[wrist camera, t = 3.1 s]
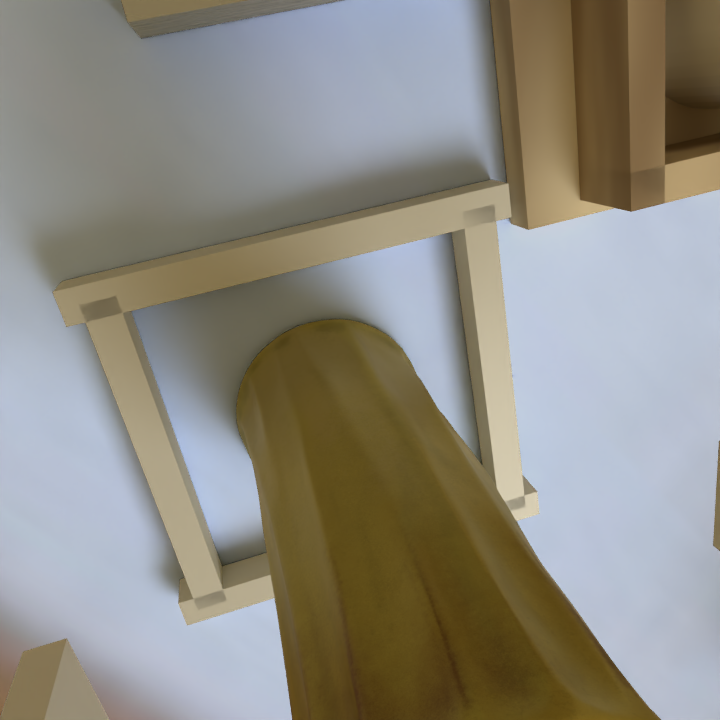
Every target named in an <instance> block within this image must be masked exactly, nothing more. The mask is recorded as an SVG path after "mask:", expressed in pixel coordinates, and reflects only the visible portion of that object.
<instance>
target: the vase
mask: <svg viewBox="0 0 720 720" xmlns="http://www.w3.org/2000/svg"><path fill="white" fill-rule="evenodd" d="M236 417H237V425H238V430H239V433H240V436H241V439H242V441H243V443H244V445H245V447H246V449H247V452H248V454H249V456H250V458H251V460H252V464H253V468H254V473H255V478H256V484H257V489H258V495H259V502H260V509H261V517H262V525H263V532H264V539H265V545H266V551H267V557H268V563H269V569H270V575H271V581H272V587H273V592H274V597H275V603H276V609H277V616H278V622H279V629H280V635H281V642H282V649H283V656H284V663H285V669H286V677H287V684H288V691H289V699H290V706H291V713H292V720H661V719H660V718H659V717H658V716H657V715H656V714H655V713H654V712H653V711H652V710H651V709H650V708H649V707H648V705H647V704H646V703H645V702H644V701H643V699H642V698H641V697H640V696H639V694H638V693H637V692H636V691H635V690H634V688H633V687H632V686H631V685H630V683H629V682H628V681H627V679H626V678H625V677H624V676H623V674H622V673H621V672H620V671H619V669H618V668H617V667H616V665H615V664H614V663H613V661H612V660H611V659H610V657H609V656H608V654H607V653H606V652H605V650H604V649H603V647H602V646H601V645H600V643H599V642H598V640H597V639H596V638H595V636H594V635H593V633H592V632H591V630H590V629H589V627H588V626H587V625H586V623H585V622H584V620H583V619H582V617H581V616H580V615H579V613H578V612H577V610H576V609H575V608H574V606H573V605H572V604H571V602H570V601H569V600H568V598H567V597H566V596H565V594H564V593H563V592H562V590H561V589H560V588H559V586H558V585H557V584H556V582H555V581H554V580H553V578H552V577H551V576H550V574H549V573H548V572H547V570H546V569H545V568H544V566H543V565H542V564H541V562H540V560H539V559H538V557H537V556H536V554H535V552H534V551H533V549H532V547H531V546H530V544H529V542H528V540H527V539H526V537H525V535H524V534H523V532H522V530H521V528H520V527H519V525H518V523H517V521H516V520H515V518H514V516H513V515H512V513H511V511H510V510H509V508H508V506H507V505H506V503H505V501H504V500H503V498H502V497H501V495H500V493H499V491H498V490H497V488H496V486H495V484H494V482H493V481H492V479H491V477H490V476H489V474H488V473H487V471H486V470H485V469H484V467H483V466H482V465H481V463H480V462H479V461H478V459H477V458H476V457H475V455H474V454H473V453H472V451H471V450H470V449H469V447H468V446H467V445H466V444H465V442H464V441H463V440H462V439H461V437H460V436H459V435H458V434H457V432H456V431H455V430H454V428H453V427H452V426H451V424H450V423H449V422H448V420H447V419H446V418H445V416H444V415H443V414H442V413H441V412H440V411H439V409H438V408H437V406H436V405H435V403H434V401H433V399H432V397H431V396H430V394H429V393H428V391H427V389H426V388H425V386H424V384H423V383H422V381H421V380H420V378H419V377H418V376H417V374H416V372H415V370H414V367H413V365H412V364H411V362H410V360H409V358H408V357H407V355H406V354H405V352H404V351H403V349H402V348H401V347H400V346H399V345H398V344H397V343H396V342H395V341H394V340H393V339H392V338H390V337H389V336H388V335H386V334H385V333H383V332H381V331H379V330H378V329H375V328H373V327H371V326H369V325H366V324H363V323H360V322H357V321H352V320H344V319H329V320H322V321H316V322H311V323H307V324H304V325H301V326H298V327H295V328H293V329H291V330H289V331H287V332H285V333H283V334H282V335H280V336H278V337H277V338H276V339H274V340H273V341H272V342H271V343H270V344H268V345H267V346H266V347H265V348H264V349H263V350H262V351H261V352H260V353H259V354H258V355H257V356H256V358H255V359H254V360H253V362H252V363H251V365H250V366H249V368H248V369H247V371H246V373H245V376H244V378H243V380H242V383H241V385H240V389H239V393H238V398H237V404H236Z"/></svg>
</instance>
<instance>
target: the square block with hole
mask: <svg viewBox="0 0 720 720" xmlns="http://www.w3.org/2000/svg"><path fill="white" fill-rule="evenodd" d="M337 1H343V0H121V2H122V5H123V9H124V12H125V15H126V19H127V22H128V23H129V25H130V26H131V27H132V28H133V29H134V31H135V32H136V33H137V34H138V35H139V37H140V38H141V39H142V38H147V37H152V36H158V35H163V34H168V33H173V32H179V31H184V30H189V29H195V28H200V27H205V26H210V25H216V24H221V23H226V22H232V21H237V20H242V19H247V18H253V17H258V16H263V15H269V14H274V13H279V12H284V11H290V10H295V9H300V8H306V7H311V6H316V5H321V4H327V3H332V2H337Z"/></svg>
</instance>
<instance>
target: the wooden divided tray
mask: <svg viewBox="0 0 720 720" xmlns="http://www.w3.org/2000/svg"><path fill="white" fill-rule="evenodd" d="M490 7H491V17H492V28H493V39H494V49H495V60H496V71H497V81H498V92H499V102H500V113H501V124H502V134H503V145H504V155H505V166H506V177H507V183H508V184H509V194H510V205H511V216H512V217H510V219H511V224H513V225H516V226H519V227H522V228H525V229H528V230H530V229H534V228H538V227H542V226H546V225H550V224H554V223H558V222H561V221H565V220H569V219H573V218H577V217H581V216H585V215H589V214H593V213H597V212H601V211H605V210H609V209H613V208H618V209H622V210H627V211H635V210H639V209H643V208H647V207H651V206H655V205H659V204H663V203H667V202H671V201H675V200H679V199H683V198H687V197H691V196H695V195H699V194H703V193H707V192H711V191H715V190H719V189H720V109H698V108H692V107H687V106H684V105H681V104H678V103H676V102H674V101H672V100H671V99H669V98H667V97H666V96H665V0H490Z"/></svg>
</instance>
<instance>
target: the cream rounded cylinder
mask: <svg viewBox="0 0 720 720" xmlns="http://www.w3.org/2000/svg"><path fill="white" fill-rule="evenodd" d="M665 96H666V97H667V98H669V99H671V100H672V101H674V102H676V103H678V104H681V105H684V106H687V107H692V108H698V109H720V0H665Z"/></svg>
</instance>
